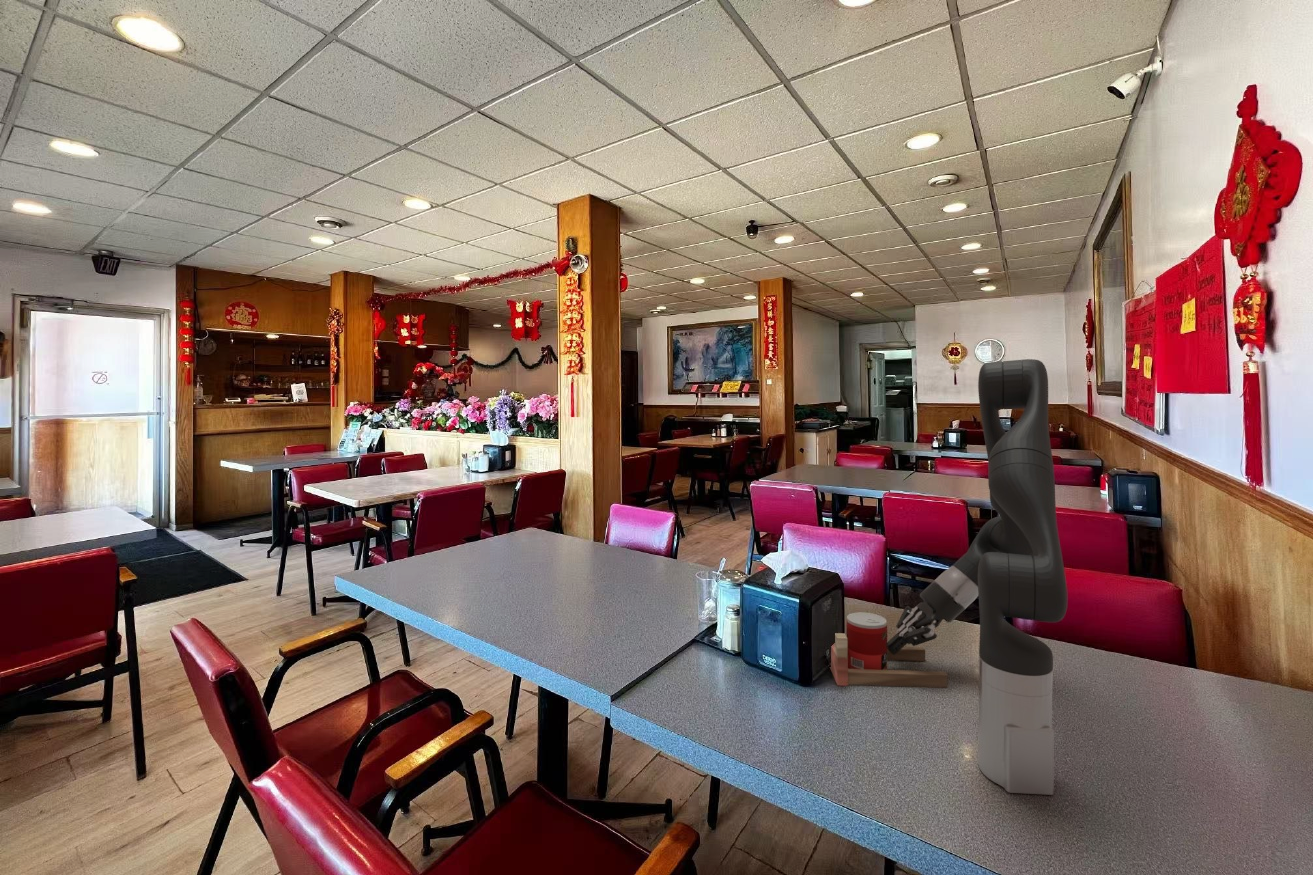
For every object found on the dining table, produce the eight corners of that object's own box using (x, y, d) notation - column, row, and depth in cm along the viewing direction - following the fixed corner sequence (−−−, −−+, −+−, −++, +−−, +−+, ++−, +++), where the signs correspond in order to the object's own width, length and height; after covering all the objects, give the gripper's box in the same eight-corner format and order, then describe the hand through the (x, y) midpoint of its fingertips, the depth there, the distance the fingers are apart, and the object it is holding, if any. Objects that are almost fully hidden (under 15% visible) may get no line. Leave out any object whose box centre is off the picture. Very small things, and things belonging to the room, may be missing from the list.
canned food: (891, 679, 113) (891, 626, 112) (850, 677, 114) (850, 624, 114) (882, 662, 120) (882, 612, 120) (843, 660, 122) (843, 611, 121)
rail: (948, 688, 109) (948, 641, 108) (837, 685, 111) (837, 638, 110) (921, 656, 123) (921, 614, 122) (824, 654, 125) (823, 612, 124)
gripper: (925, 571, 121) (867, 625, 123) (950, 591, 108) (885, 651, 110) (950, 595, 121) (892, 649, 123) (978, 618, 108) (913, 678, 110)
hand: (889, 650), depth 117 cm, fingers closed
